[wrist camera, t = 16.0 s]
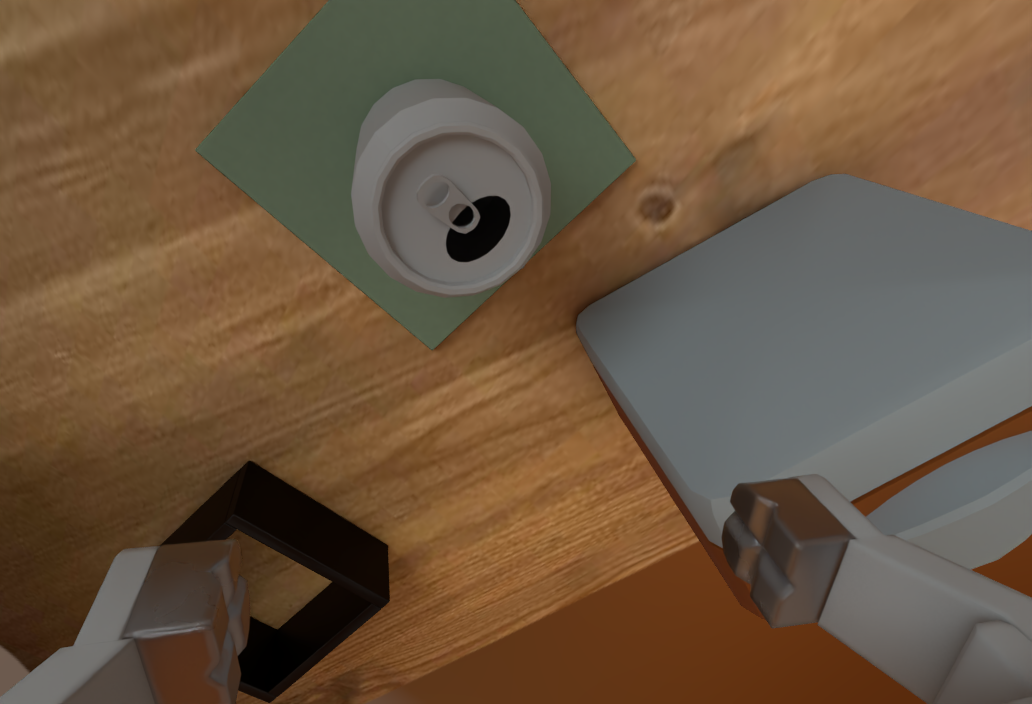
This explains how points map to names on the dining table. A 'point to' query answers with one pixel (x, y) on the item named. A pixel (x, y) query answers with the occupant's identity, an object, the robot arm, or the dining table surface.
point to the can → (447, 189)
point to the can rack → (314, 544)
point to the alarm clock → (836, 366)
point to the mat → (369, 76)
